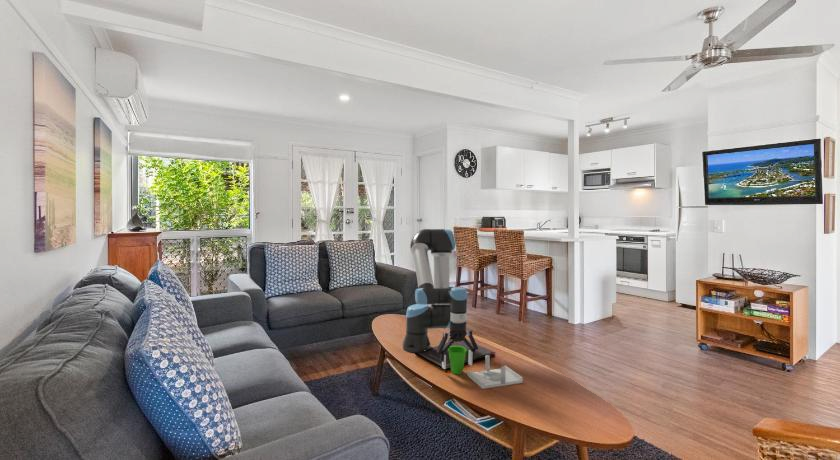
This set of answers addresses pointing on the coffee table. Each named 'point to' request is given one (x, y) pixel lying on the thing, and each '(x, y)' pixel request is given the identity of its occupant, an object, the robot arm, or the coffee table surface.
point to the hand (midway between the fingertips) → (457, 366)
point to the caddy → (495, 376)
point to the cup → (457, 358)
